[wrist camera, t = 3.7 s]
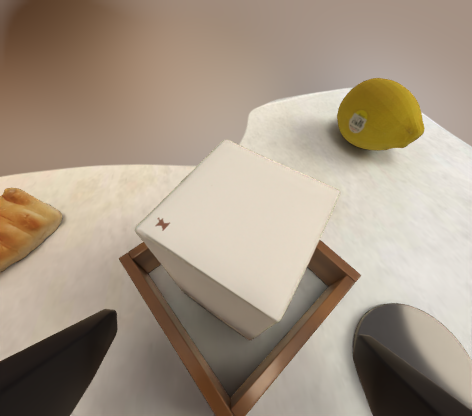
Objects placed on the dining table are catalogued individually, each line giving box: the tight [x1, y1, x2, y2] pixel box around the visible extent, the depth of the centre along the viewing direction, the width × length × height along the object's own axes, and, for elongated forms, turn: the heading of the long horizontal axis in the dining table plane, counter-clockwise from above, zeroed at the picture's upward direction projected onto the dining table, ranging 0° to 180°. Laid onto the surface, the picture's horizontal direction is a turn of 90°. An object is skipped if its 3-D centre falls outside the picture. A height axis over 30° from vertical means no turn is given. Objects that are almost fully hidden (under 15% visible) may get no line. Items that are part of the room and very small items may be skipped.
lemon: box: [337, 78, 424, 150], centre depth 28 cm, size 11×8×8 cm
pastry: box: [0, 188, 62, 272], centre depth 21 cm, size 9×7×4 cm
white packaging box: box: [135, 139, 340, 340], centre depth 16 cm, size 7×7×13 cm
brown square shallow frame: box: [119, 240, 361, 416], centre depth 19 cm, size 14×14×4 cm
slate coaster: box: [353, 303, 472, 410], centre depth 17 cm, size 9×9×1 cm
